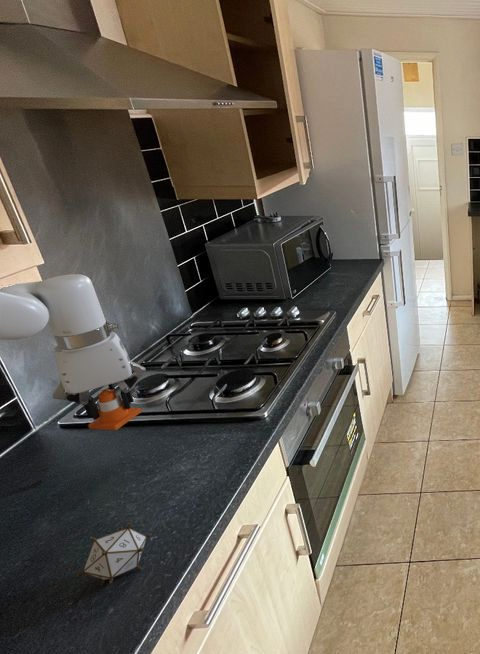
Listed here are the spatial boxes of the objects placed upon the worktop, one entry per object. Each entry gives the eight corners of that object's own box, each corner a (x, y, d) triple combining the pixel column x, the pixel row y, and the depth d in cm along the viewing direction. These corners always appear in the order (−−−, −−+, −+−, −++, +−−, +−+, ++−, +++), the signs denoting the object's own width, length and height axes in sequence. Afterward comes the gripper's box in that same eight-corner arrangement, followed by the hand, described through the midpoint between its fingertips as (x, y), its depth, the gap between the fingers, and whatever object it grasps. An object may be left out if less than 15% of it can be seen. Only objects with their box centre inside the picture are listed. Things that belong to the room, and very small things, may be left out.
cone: (89, 428, 87) (76, 398, 85) (116, 410, 93) (105, 380, 90) (116, 430, 87) (103, 399, 84) (141, 411, 92) (131, 382, 90)
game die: (134, 590, 72) (109, 593, 64) (82, 579, 71) (49, 580, 63) (170, 531, 78) (151, 527, 70) (122, 519, 76) (97, 514, 69)
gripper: (138, 317, 91) (161, 387, 97) (24, 342, 80) (58, 419, 86) (139, 329, 85) (164, 403, 92) (17, 358, 75) (54, 439, 81)
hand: (112, 410), depth 89 cm, fingers closed on cone, 4 cm apart
